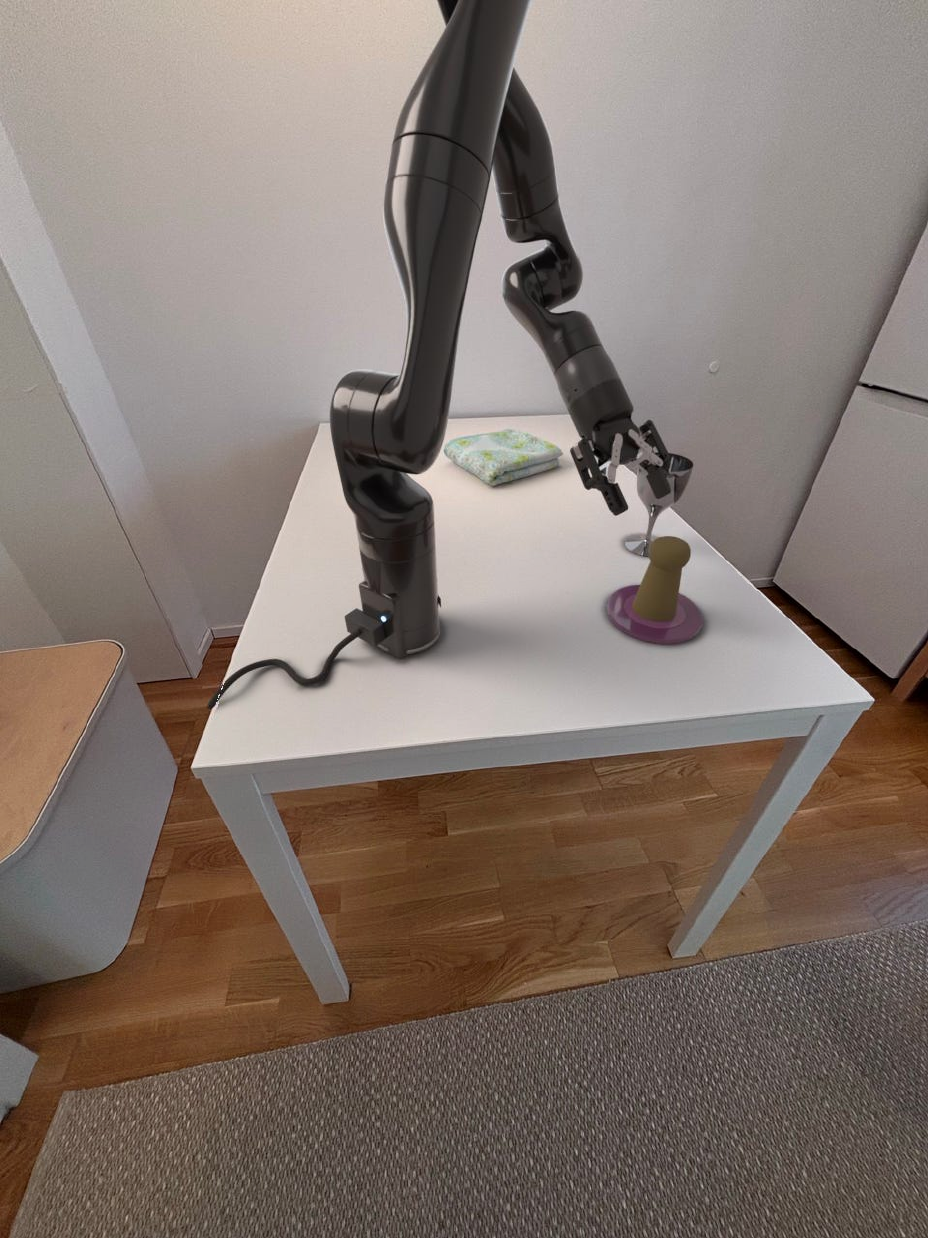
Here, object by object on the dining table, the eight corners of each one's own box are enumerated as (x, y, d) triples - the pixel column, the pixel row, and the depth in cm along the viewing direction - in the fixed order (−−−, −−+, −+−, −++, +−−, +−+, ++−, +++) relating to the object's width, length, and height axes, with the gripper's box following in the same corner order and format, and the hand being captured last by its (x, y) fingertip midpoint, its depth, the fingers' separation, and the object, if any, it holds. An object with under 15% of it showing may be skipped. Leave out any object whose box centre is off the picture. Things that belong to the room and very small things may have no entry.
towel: (564, 466, 117) (567, 444, 114) (488, 489, 107) (489, 466, 104) (514, 443, 129) (515, 422, 125) (442, 462, 119) (441, 440, 116)
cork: (678, 624, 71) (700, 555, 64) (633, 619, 72) (650, 550, 65) (673, 598, 76) (693, 532, 69) (631, 594, 77) (646, 528, 70)
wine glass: (662, 562, 85) (686, 475, 76) (615, 549, 88) (633, 464, 79) (675, 542, 90) (698, 458, 81) (630, 530, 94) (648, 448, 84)
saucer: (683, 657, 67) (685, 652, 66) (591, 620, 73) (592, 615, 73) (712, 608, 75) (714, 603, 75) (627, 579, 81) (629, 574, 81)
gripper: (570, 385, 62) (627, 507, 62) (648, 368, 68) (699, 479, 68) (537, 419, 69) (588, 529, 68) (611, 400, 75) (657, 501, 75)
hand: (643, 504), depth 68 cm, fingers open, 8 cm apart
